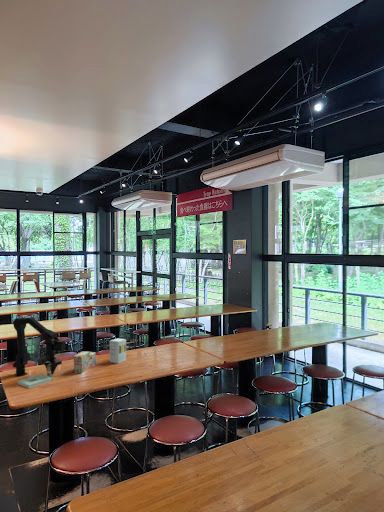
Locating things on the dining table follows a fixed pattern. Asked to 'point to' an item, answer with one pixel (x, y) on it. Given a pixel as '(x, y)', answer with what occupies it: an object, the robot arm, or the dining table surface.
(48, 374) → the peg
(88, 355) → the beige multicoloured rectangular block
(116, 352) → the supplement box
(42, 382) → the board
